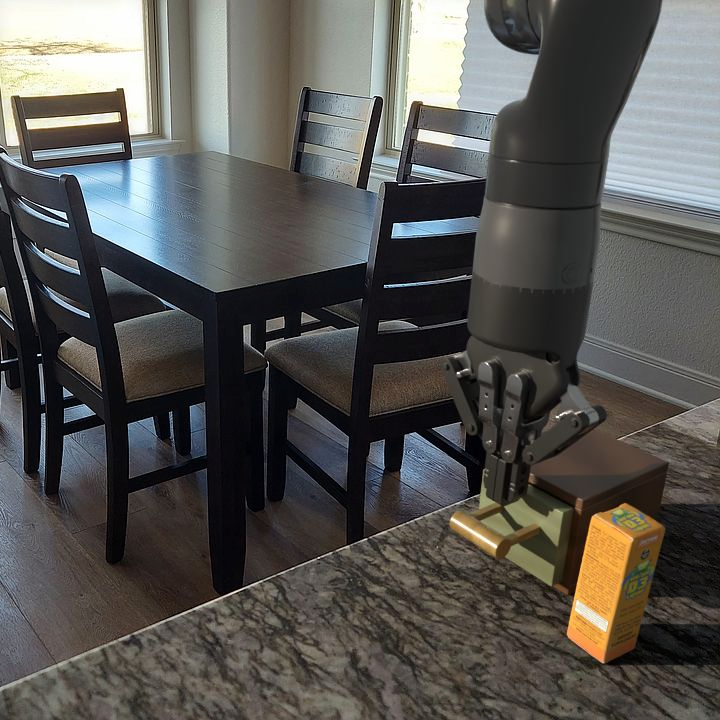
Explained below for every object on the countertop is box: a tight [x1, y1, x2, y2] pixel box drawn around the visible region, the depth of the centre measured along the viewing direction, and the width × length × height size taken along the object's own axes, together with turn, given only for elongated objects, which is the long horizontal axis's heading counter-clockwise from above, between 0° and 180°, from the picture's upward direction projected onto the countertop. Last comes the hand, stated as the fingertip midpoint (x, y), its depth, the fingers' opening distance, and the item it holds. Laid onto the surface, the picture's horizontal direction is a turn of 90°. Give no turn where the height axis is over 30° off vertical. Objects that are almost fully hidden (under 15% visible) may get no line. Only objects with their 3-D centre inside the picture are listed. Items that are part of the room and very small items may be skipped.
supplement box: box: [566, 503, 666, 664], centre depth 56 cm, size 3×3×10 cm
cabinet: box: [529, 428, 670, 596], centre depth 67 cm, size 10×9×8 cm
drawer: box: [448, 468, 574, 588], centre depth 65 cm, size 14×7×6 cm, turn 122°
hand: (502, 498), depth 62 cm, fingers closed
